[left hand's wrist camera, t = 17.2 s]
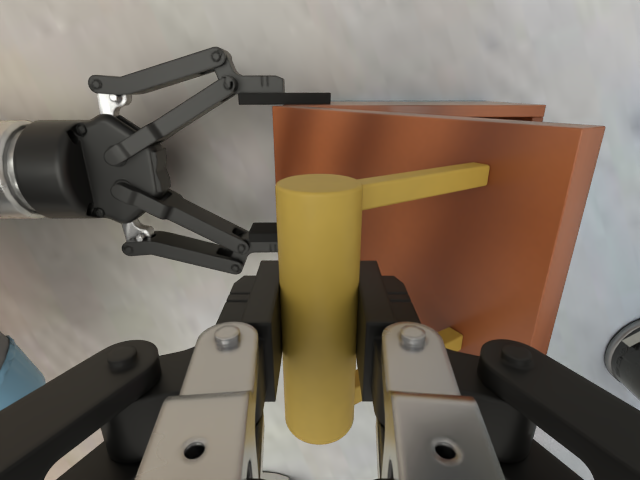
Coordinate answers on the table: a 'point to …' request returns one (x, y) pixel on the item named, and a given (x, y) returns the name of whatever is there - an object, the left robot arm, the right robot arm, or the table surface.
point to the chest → (445, 108)
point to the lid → (418, 236)
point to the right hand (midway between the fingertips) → (329, 169)
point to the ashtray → (273, 476)
